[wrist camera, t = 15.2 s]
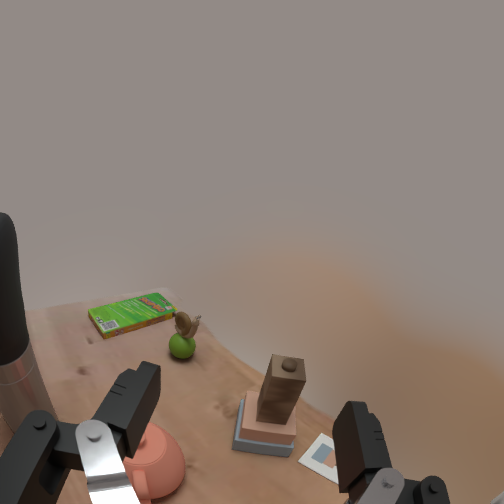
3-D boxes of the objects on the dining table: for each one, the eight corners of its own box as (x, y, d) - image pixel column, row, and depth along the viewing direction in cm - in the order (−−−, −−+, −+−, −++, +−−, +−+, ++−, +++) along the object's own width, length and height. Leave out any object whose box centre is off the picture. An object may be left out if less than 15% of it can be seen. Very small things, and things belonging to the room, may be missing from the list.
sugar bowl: (178, 437, 38) (180, 399, 35) (193, 514, 26) (197, 491, 22) (102, 433, 34) (90, 393, 31) (102, 511, 22) (83, 485, 18)
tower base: (231, 449, 38) (238, 429, 36) (238, 409, 46) (244, 387, 44) (288, 457, 38) (299, 438, 36) (287, 417, 46) (297, 396, 44)
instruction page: (297, 461, 37) (298, 460, 37) (321, 433, 43) (321, 432, 43) (348, 489, 32) (349, 489, 32) (367, 458, 38) (368, 457, 38)
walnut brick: (255, 421, 38) (273, 371, 34) (257, 400, 42) (273, 349, 39) (285, 425, 38) (308, 376, 34) (285, 404, 42) (305, 354, 39)
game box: (88, 319, 61) (157, 298, 76) (104, 343, 55) (178, 316, 70) (87, 309, 60) (158, 288, 75) (103, 333, 54) (179, 306, 69)
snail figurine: (183, 370, 53) (188, 321, 49) (163, 352, 56) (165, 304, 52) (203, 359, 57) (209, 312, 53) (182, 343, 61) (186, 296, 57)
